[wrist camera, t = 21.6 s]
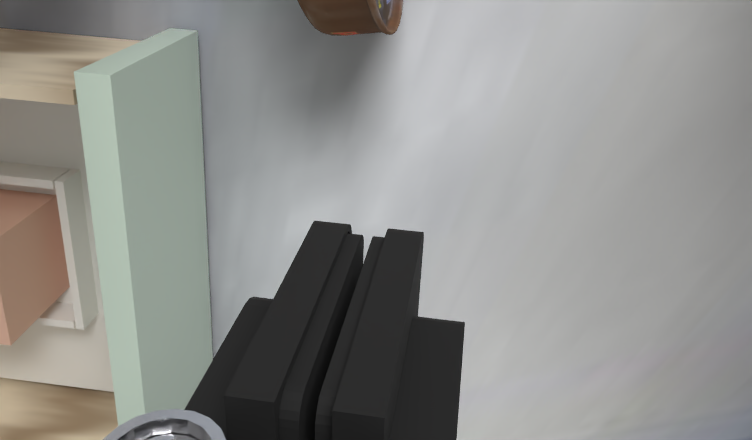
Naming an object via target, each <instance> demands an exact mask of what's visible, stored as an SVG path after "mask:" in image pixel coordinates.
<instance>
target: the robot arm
mask: <svg viewBox="0 0 752 440" xmlns="http://www.w3.org/2000/svg"><path fill="white" fill-rule="evenodd" d="M423 240H424V233H423V232H416V231H406V230H397V229H388V230H387V232H386V235H385V238H384V237H375V236H373V238H372V240H371V243H370V246H369V249H368V252H367V255H366V258H365V261H364V264H363V249H364V240H363V235H356V234H352V230H351V225H350V224H340V223H331V222H321V221H314V222H313V224H312V226H311V228H310V229H309V231H308V233H307V235H306V237H305V239H304V241H303V243H302V245H301V247H300V249H299V251H298V253H297V255H296V256H295V258H294V260H293V262H292V264H291V266H290V268H289V270H288V272H287V274H286V276H285V278H284V280H283V282H282V284H281V285H280V287H279V289H278V291H277V293H276V295H275V297H274V299H267V298H259V297H252V298H249V300H248V301H247V302H246V304H245V305H244V307H243V309H242V310H241V312H240V314H239V316H238V317H237V319H236V321H235V323H234V324H233V326H232V328H231V329H230V331H229V333H228V335H227V336H226V338H225V340H224V342H223V343H222V345H221V347H220V349H219V350H218V352H217V354H216V355H215V357H214V359H213V361H212V362H211V364H210V366H209V368H208V369H207V371H206V373H205V375H204V376H203V378H202V380H201V381H200V383H199V385H198V387H197V388H196V390H195V392H194V394H193V395H192V397H191V399H190V401H189V402H188V404H187V406H186V408H185V409H184V410H182V409H168V410H156V411H153V412H150V413H146V414H143V415H139V416H136V417H134V418H133V419H131V420H129V421H127V422H125V423H123V424H121V425H119V426H118V427H117V428H115V429H114V430H113V431H112V432H111V433H110V434H108V435H107V436H106V437H105V438H104V439H103V440H456V437H457V423H458V409H459V396H460V382H461V368H462V354H463V340H464V326H465V322H457V321H449V320H441V319H432V318H424V317H418V305H419V292H420V279H421V267H422V254H423Z"/></svg>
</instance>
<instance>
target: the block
mask: <svg viewBox="0 0 752 440" xmlns="http://www.w3.org/2000/svg"><path fill="white" fill-rule="evenodd" d="M69 287H70V285H69V278H68V271H67V264H66V257H65V251H64V244H63V237H62V230H61V223H60V217H59V210H58V203H57V196H56V195H51V194H42V193H33V192H24V191H15V190H5V189H0V344H3V345H10V346H11V345H12V344H13V343H14V342H15V341H16V340H17V339H18V338H19V337H20V336H21V335H22V334H23V333H24V332H25V331H26V330H27V329H28V328H29V327H30V326H31V325H32V324H33V323H34V322H35V321H36V320H37V319H38V318H39V317H40V316H41V315H42V314H43V313H44V312H45V311H46V310H47V309H48V308H49V307H50V306H51V305H52V304H53V303H54V302H55V301H56V300H57V299H58V298H59V297H60V296H61V295H62V294H63V293H64V292H65V291H66V290H67V289H68V288H69Z"/></svg>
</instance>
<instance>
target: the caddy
mask: <svg viewBox="0 0 752 440" xmlns="http://www.w3.org/2000/svg"><path fill="white" fill-rule="evenodd" d="M138 42H140V41H139V40H128V39H117V38H106V37H94V36H83V35H72V34H61V33H50V32H39V31H28V30H17V29H6V28H0V98H6V99H16V100H26V101H36V102H47V103H57V104H67V105H76V104H78V102H77V94H76V86H75V78H74V71H76V70H79V69H81V68H83V67H85V66H87V65H90V64H92V63H94V62H96V61H99V60H101V59H103V58H105V57H107V56H110V55H112V54H114V53H116V52H118V51H121V50H123V49H125V48H127V47H129V46H132V45H134V44H136V43H138ZM117 427H118V420H117V412H116V404H115V396H114V392H110V391H102V390H94V389H86V388H79V387H71V386H63V385H55V384H47V383H40V382H32V381H24V380H16V379H9V378H1V377H0V440H103V439H104V438H105V437H106V436H107V435H108V434H110V433H111V432H112V431H113V430H114V429H115V428H117Z"/></svg>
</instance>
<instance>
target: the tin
mask: <svg viewBox="0 0 752 440" xmlns="http://www.w3.org/2000/svg"><path fill="white" fill-rule="evenodd" d="M298 2H299V4H300V7H301V8H302V10H303V12H304V14H305V15H306V17H307V18H308V20H309V21H310V23H311V24H312V25H313V26H314V27H315V28H316V29H317V30H319V31H320V32H322V33H325V34H328V35H339V36H341V35H354V34H365V33H377V32H383V33H385V34H389V35H390V34H394V33H395V32H396V31H397V28H398V26H399V24H400V19H401V15H402V6H403V0H298Z"/></svg>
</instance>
